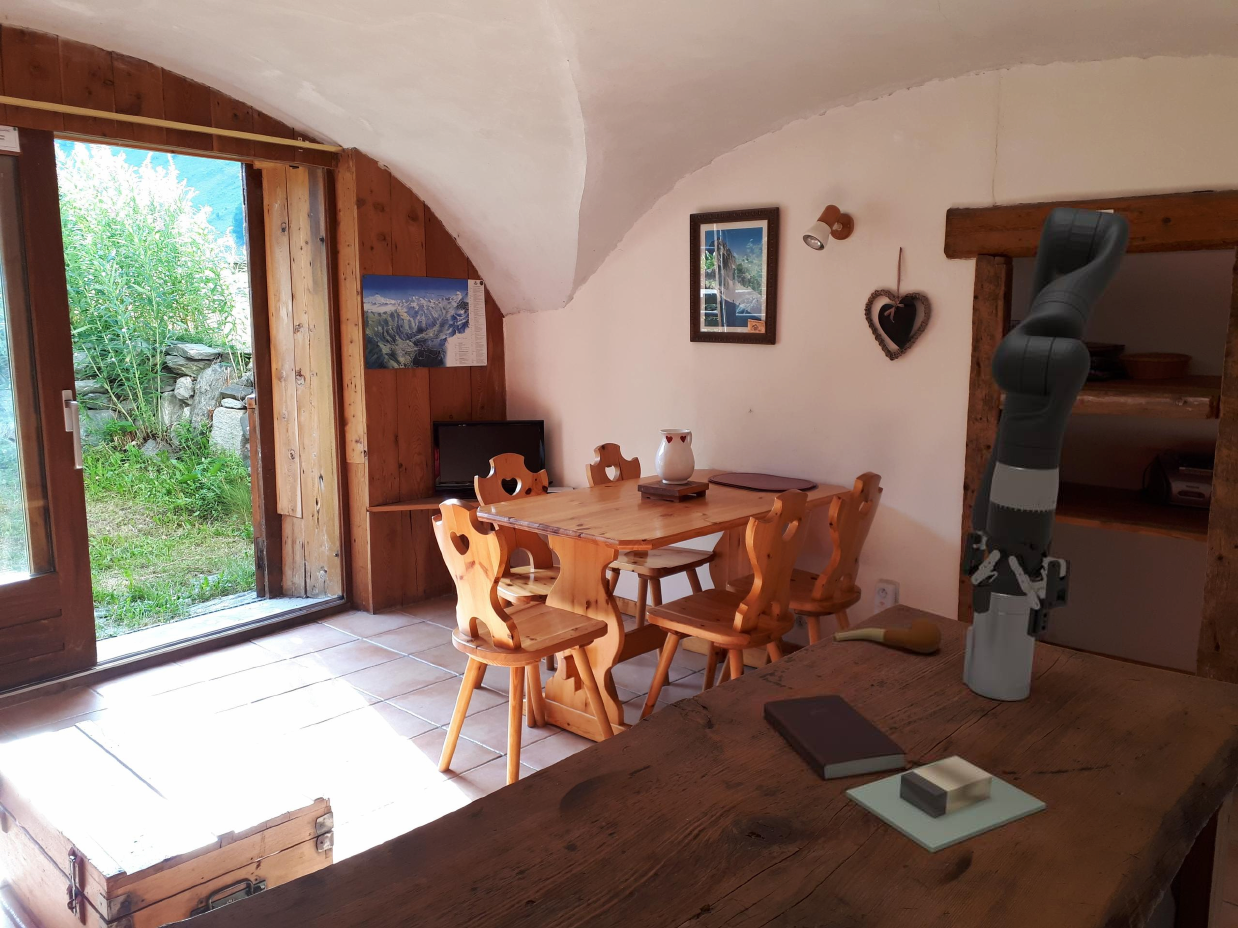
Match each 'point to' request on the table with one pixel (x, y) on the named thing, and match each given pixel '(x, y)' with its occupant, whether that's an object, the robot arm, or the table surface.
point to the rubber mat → (948, 827)
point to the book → (834, 737)
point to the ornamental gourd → (901, 636)
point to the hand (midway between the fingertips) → (1006, 623)
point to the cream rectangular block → (945, 787)
